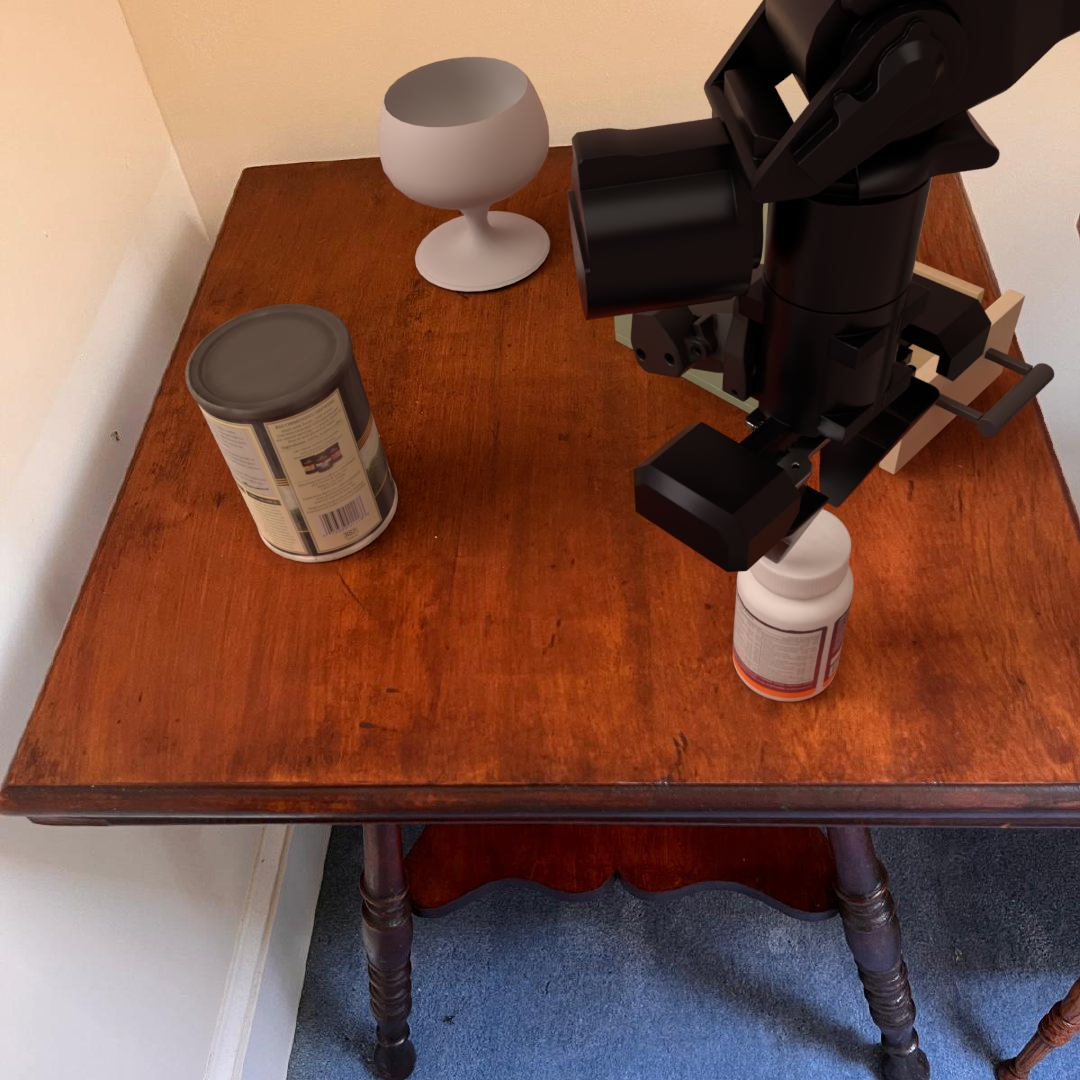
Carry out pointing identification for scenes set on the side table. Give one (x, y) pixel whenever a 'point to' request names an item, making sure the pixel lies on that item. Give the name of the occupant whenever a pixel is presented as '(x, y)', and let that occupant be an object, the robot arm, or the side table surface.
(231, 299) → the side table surface
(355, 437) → the coffee can
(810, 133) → the robot arm
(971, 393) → the drawer
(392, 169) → the chalice
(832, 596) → the pill bottle
